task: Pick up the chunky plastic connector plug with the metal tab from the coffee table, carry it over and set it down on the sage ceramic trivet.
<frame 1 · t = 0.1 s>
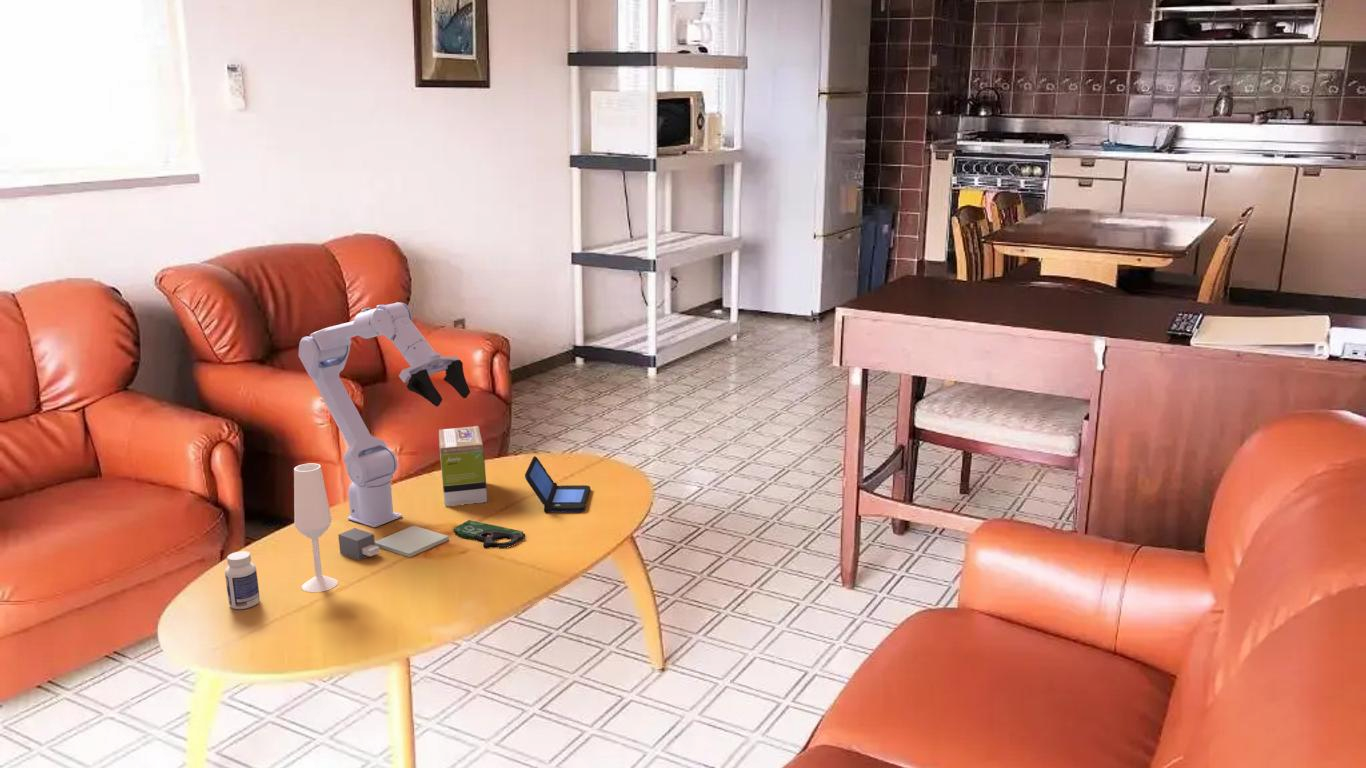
hand: (453, 399, 220), 32 cm above the table, tool tilted 50°, fingers open, 7 cm apart
handheld game console: (559, 502, 253), on the table
connector plug: (358, 554, 225), on the table
tea box: (464, 495, 258), on the table
champagne flute: (319, 585, 210), on the table
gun: (486, 539, 233), on the table
pill bottle: (244, 604, 203), on the table
trivet: (411, 542, 230), on the table
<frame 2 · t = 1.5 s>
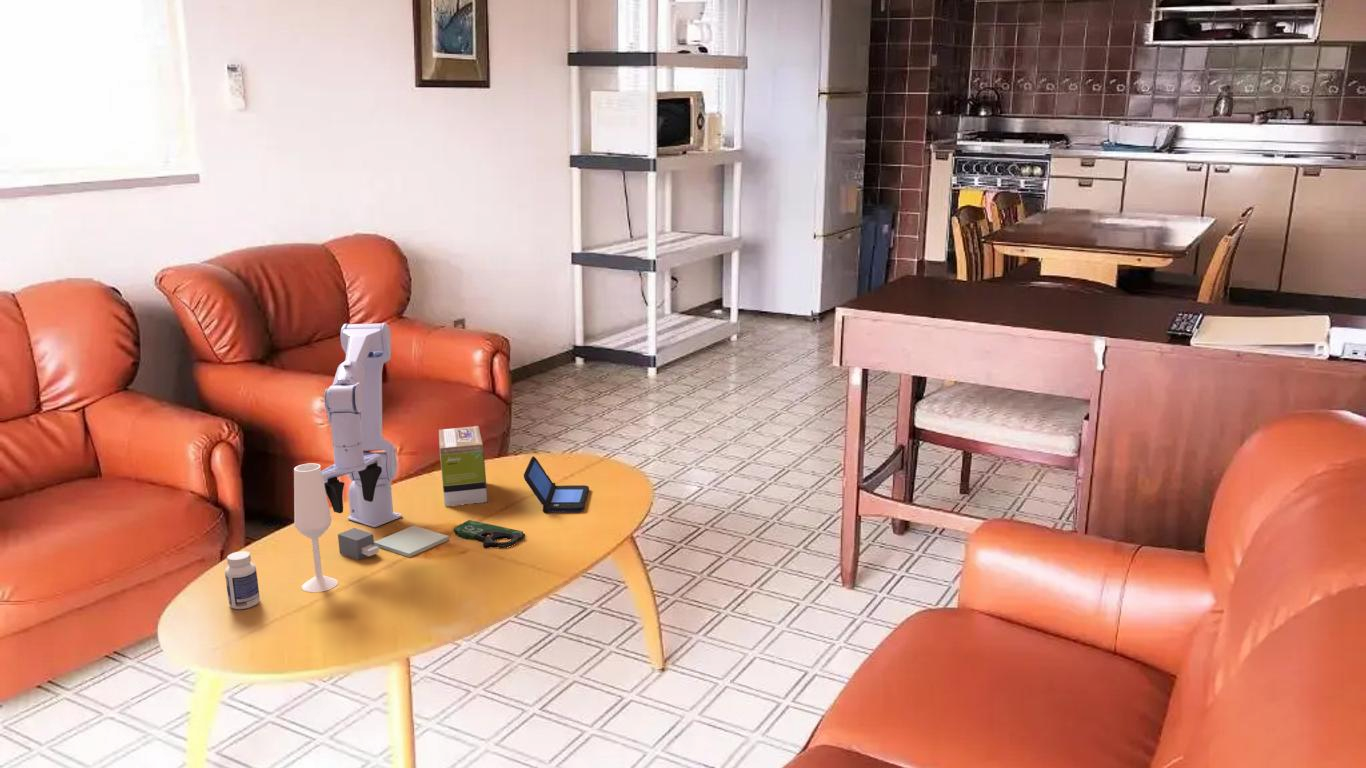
hand: (353, 506, 222), 10 cm above the table, tool pointing down, fingers open, 7 cm apart
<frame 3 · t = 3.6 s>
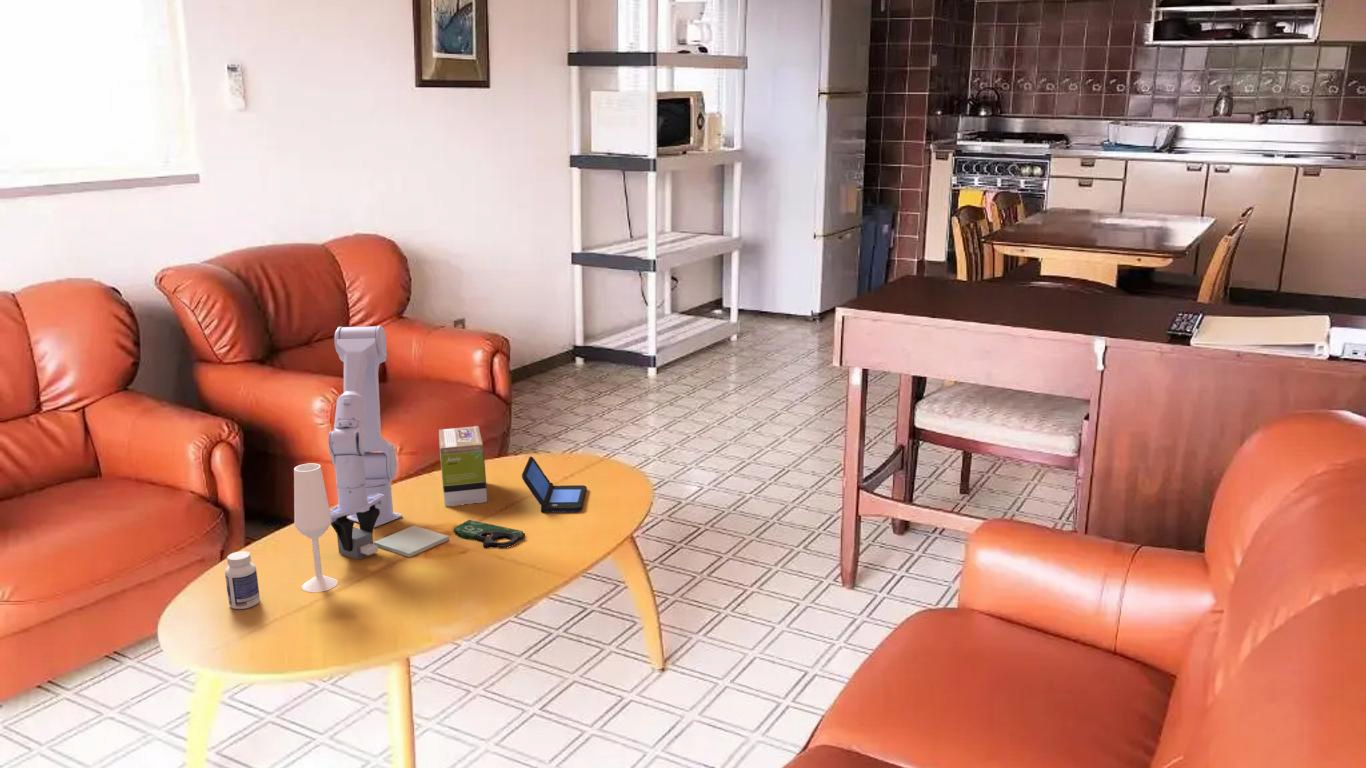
hand: (357, 546, 224), 2 cm above the table, tool pointing down, fingers closed on connector plug, 4 cm apart
connector plug: (356, 553, 225), on the table, touching gripper
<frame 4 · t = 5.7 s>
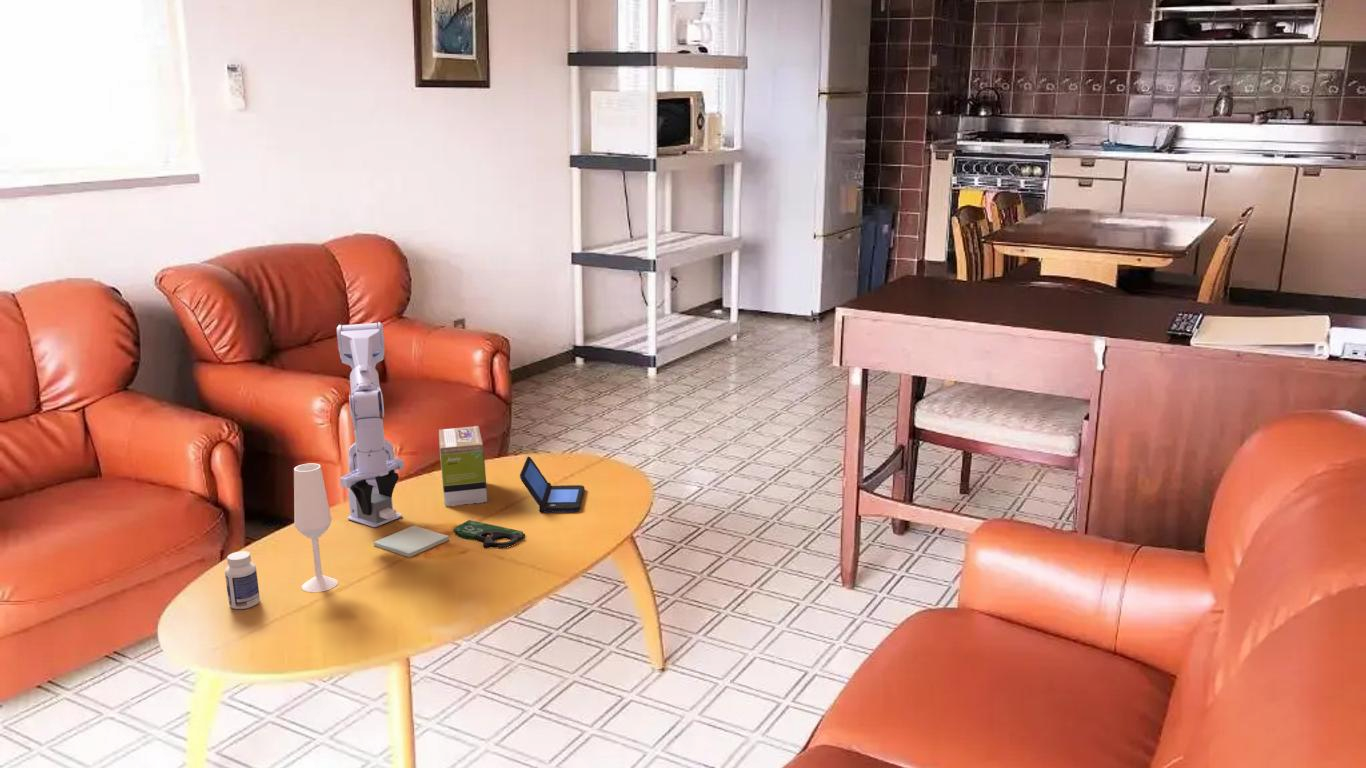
hand: (376, 510, 225), 9 cm above the table, tool pointing down, fingers closed on connector plug, 4 cm apart
connector plug: (375, 517, 225), point 7 cm above the table, touching gripper
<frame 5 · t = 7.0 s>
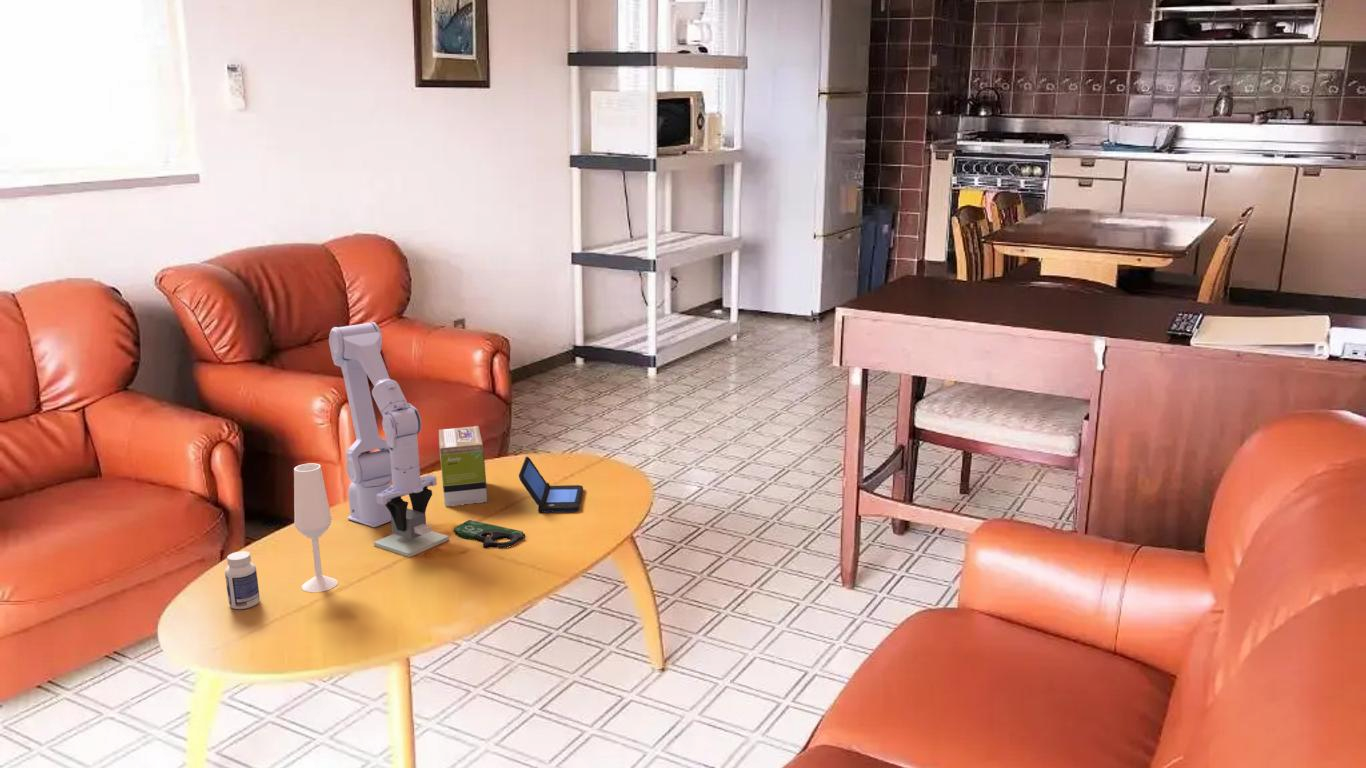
hand: (410, 526, 229), 4 cm above the table, tool pointing down, fingers closed on connector plug, 4 cm apart
connector plug: (409, 533, 229), point 2 cm above the table, touching gripper
when the fingers open (3 cm above the table, at t = 8.0 s): connector plug stays where it is, resting on trivet.
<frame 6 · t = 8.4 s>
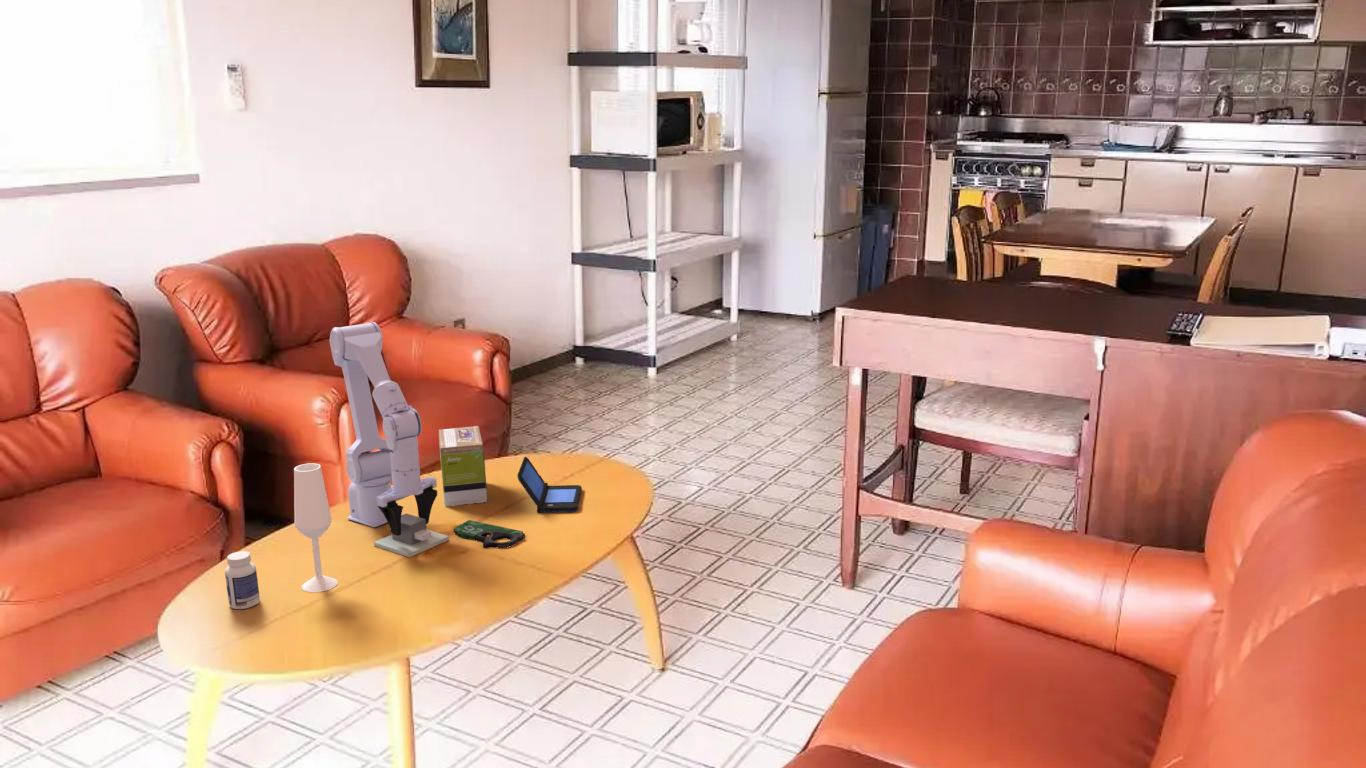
hand: (410, 528, 229), 3 cm above the table, tool pointing down, fingers open, 7 cm apart
connector plug: (409, 538, 230), point 1 cm above the table, touching trivet
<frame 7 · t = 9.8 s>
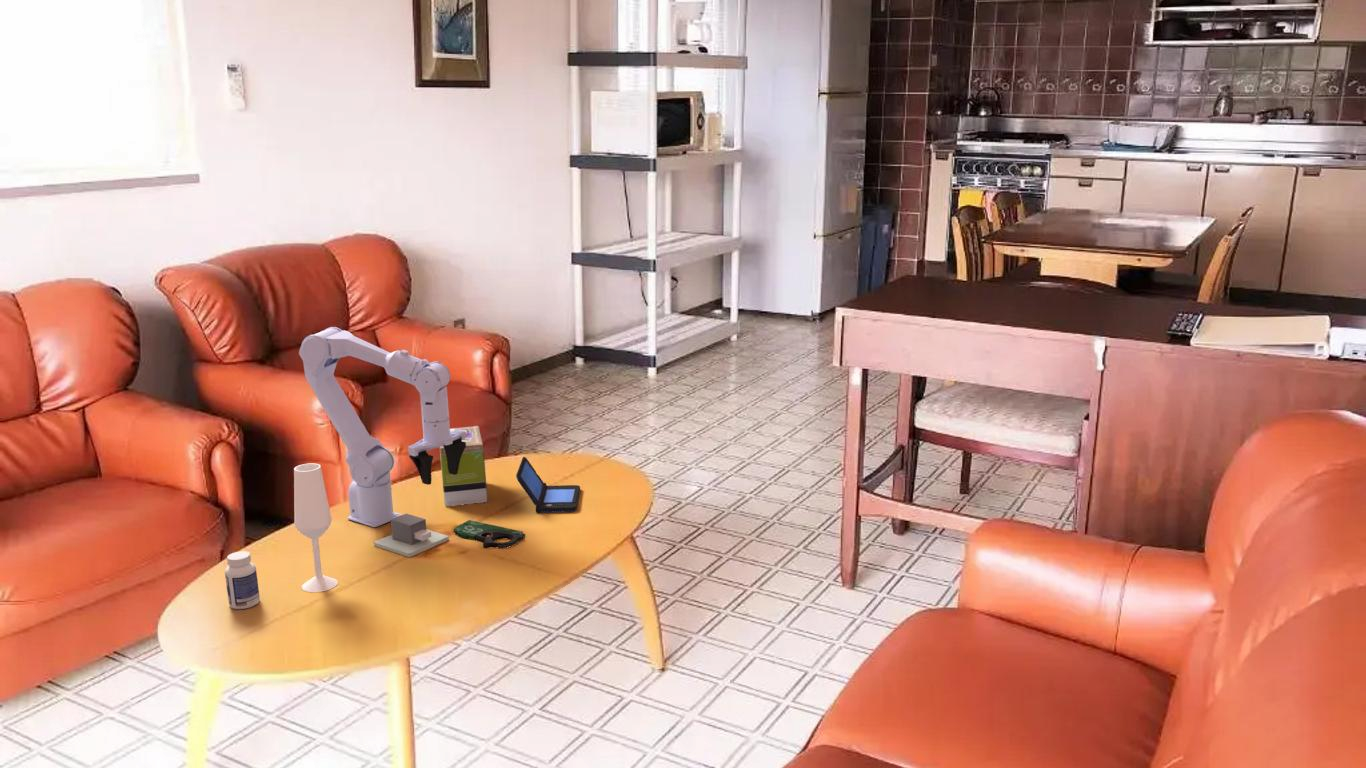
hand: (440, 478, 238), 10 cm above the table, tool pointing down, fingers open, 7 cm apart
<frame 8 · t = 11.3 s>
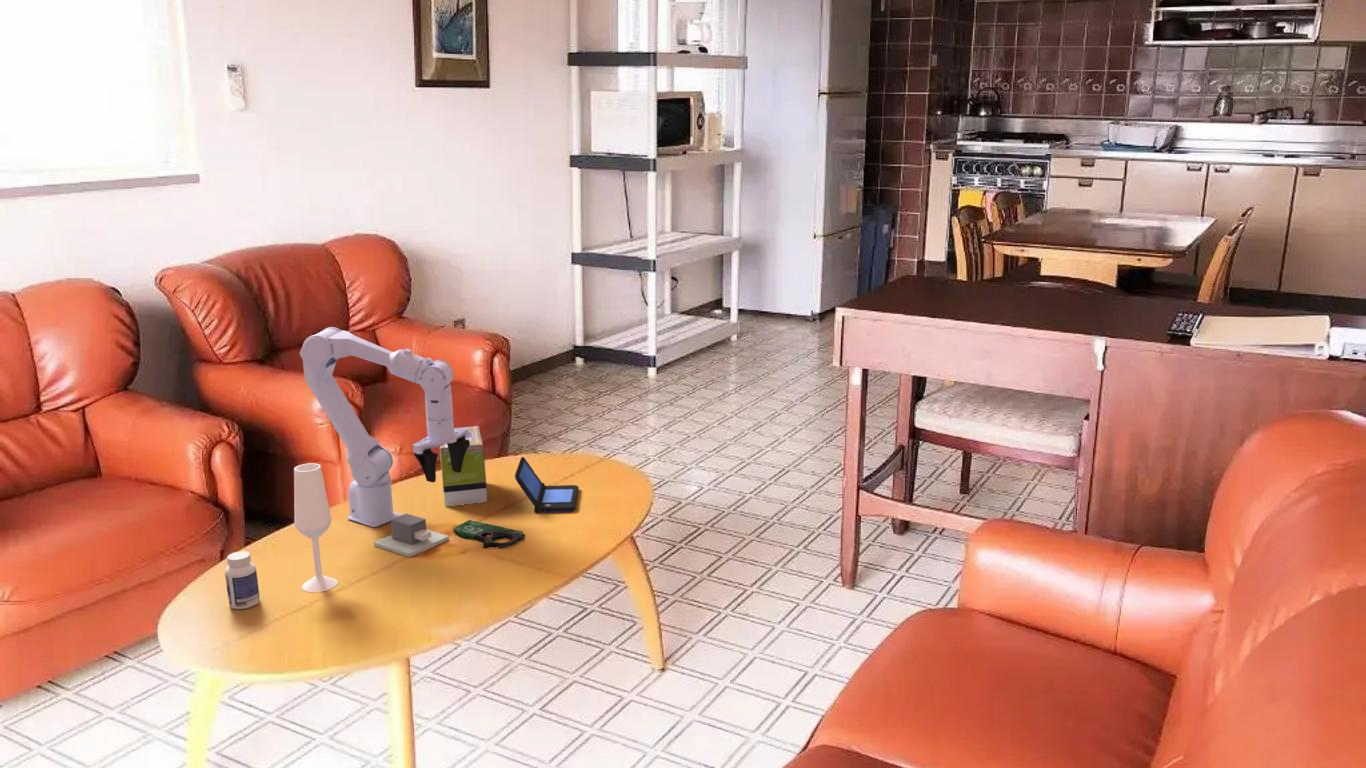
hand: (444, 476, 239), 10 cm above the table, tool pointing down, fingers open, 7 cm apart
at the end: connector plug inside the target area on the trivet (0.4 cm from its centre), point 0.8 cm above the trivet's base; the gripper is holding nothing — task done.
